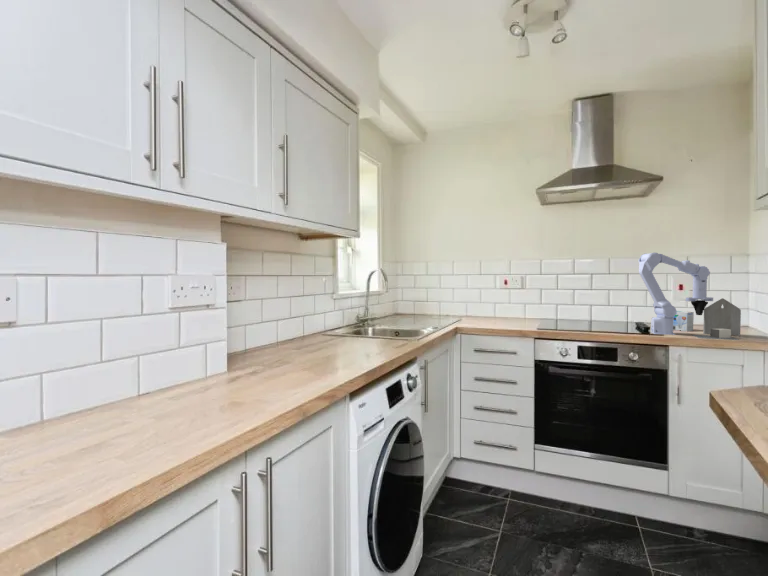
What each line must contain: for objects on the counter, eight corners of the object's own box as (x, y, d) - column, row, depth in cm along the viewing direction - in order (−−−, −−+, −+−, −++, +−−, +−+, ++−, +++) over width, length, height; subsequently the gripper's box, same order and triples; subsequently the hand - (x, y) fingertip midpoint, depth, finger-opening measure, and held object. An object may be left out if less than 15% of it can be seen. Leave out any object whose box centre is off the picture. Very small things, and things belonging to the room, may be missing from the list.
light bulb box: (666, 329, 229) (666, 310, 228) (672, 328, 232) (673, 310, 232) (687, 331, 219) (687, 312, 219) (693, 330, 222) (694, 311, 222)
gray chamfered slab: (730, 333, 211) (731, 297, 210) (740, 336, 203) (741, 298, 202) (695, 332, 214) (696, 297, 214) (703, 334, 207) (704, 298, 206)
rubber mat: (699, 339, 192) (699, 338, 192) (690, 335, 204) (690, 334, 203) (740, 341, 186) (740, 340, 186) (729, 337, 198) (729, 336, 198)
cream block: (718, 329, 192) (731, 329, 194) (710, 328, 196) (722, 328, 197) (718, 338, 193) (730, 337, 194) (710, 336, 197) (722, 336, 198)
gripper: (694, 289, 201) (694, 316, 201) (719, 289, 203) (718, 315, 204) (682, 289, 208) (681, 314, 208) (706, 288, 210) (705, 314, 211)
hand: (699, 315), depth 206 cm, fingers closed
